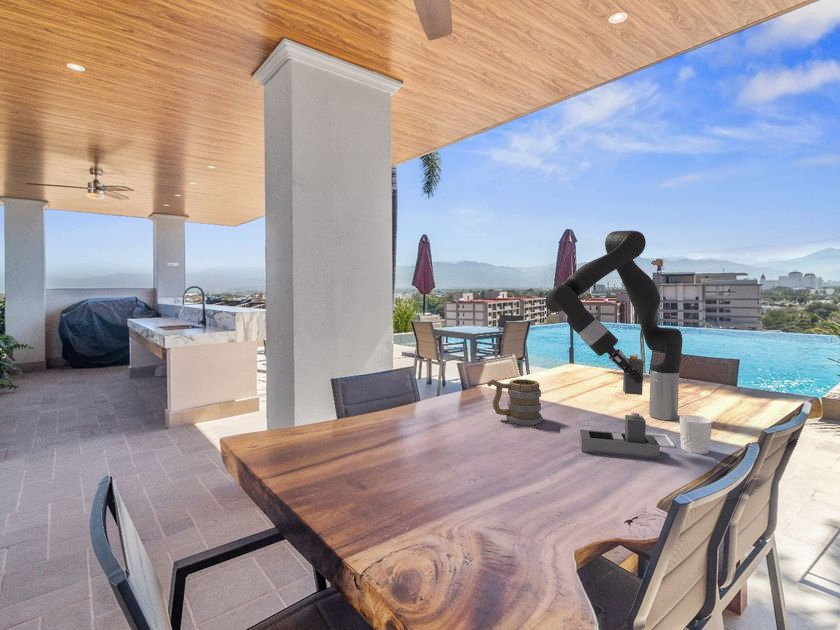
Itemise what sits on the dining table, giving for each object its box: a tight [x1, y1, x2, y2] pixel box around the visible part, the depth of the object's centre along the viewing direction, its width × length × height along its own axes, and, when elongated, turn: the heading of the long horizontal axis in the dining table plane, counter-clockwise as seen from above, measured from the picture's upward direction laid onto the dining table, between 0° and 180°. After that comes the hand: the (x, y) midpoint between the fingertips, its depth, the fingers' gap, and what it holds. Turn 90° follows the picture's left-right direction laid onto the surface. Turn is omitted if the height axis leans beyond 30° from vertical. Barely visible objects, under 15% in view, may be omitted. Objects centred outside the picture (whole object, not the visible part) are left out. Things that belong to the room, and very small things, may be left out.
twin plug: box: [624, 412, 647, 443], centre depth 121 cm, size 4×4×11 cm
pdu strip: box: [579, 429, 661, 461], centre depth 123 cm, size 8×20×5 cm, turn 73°
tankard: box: [486, 378, 544, 426], centre depth 155 cm, size 20×13×15 cm, turn 84°
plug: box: [622, 354, 645, 396], centre depth 126 cm, size 4×4×11 cm
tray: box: [645, 432, 676, 449], centre depth 131 cm, size 10×10×2 cm
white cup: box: [679, 414, 713, 455], centre depth 123 cm, size 8×8×10 cm
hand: (639, 379), depth 126 cm, fingers closed on plug, 4 cm apart
